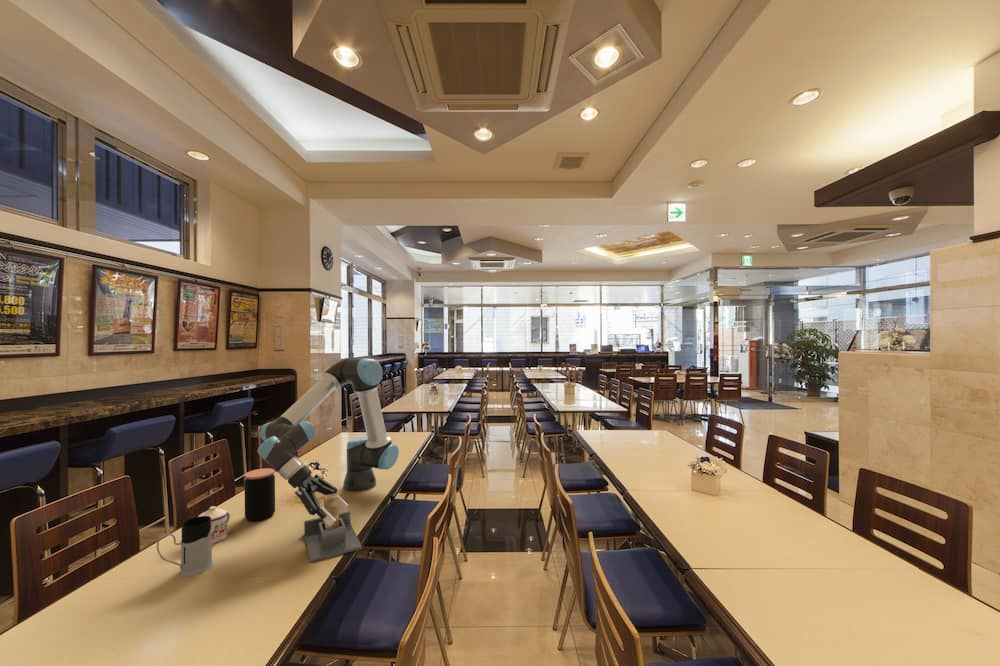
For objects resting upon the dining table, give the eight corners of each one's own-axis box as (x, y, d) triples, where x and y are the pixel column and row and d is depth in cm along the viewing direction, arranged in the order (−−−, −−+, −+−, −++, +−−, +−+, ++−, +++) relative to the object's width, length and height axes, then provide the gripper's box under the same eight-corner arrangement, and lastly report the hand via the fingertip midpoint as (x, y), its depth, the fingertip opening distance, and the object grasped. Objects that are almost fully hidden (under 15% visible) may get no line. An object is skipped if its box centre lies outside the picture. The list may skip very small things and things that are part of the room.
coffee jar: (280, 511, 170) (280, 468, 170) (263, 523, 159) (263, 477, 159) (257, 510, 171) (256, 467, 171) (238, 522, 160) (238, 476, 160)
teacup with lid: (213, 546, 142) (213, 513, 142) (190, 545, 143) (190, 512, 143) (239, 529, 154) (239, 499, 154) (218, 528, 155) (217, 498, 155)
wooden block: (337, 534, 148) (336, 492, 148) (339, 539, 144) (338, 496, 144) (324, 537, 146) (323, 495, 146) (326, 542, 142) (325, 499, 142)
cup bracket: (349, 523, 158) (349, 508, 158) (361, 549, 139) (361, 531, 139) (304, 534, 150) (304, 518, 150) (310, 562, 131) (310, 544, 131)
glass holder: (217, 567, 129) (217, 520, 129) (160, 588, 118) (160, 537, 118) (208, 557, 135) (208, 512, 135) (153, 577, 124) (153, 528, 124)
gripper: (303, 469, 156) (344, 508, 157) (269, 493, 133) (317, 539, 133) (317, 455, 156) (358, 494, 157) (286, 476, 133) (333, 523, 133)
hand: (339, 515), depth 145 cm, fingers open, 11 cm apart
